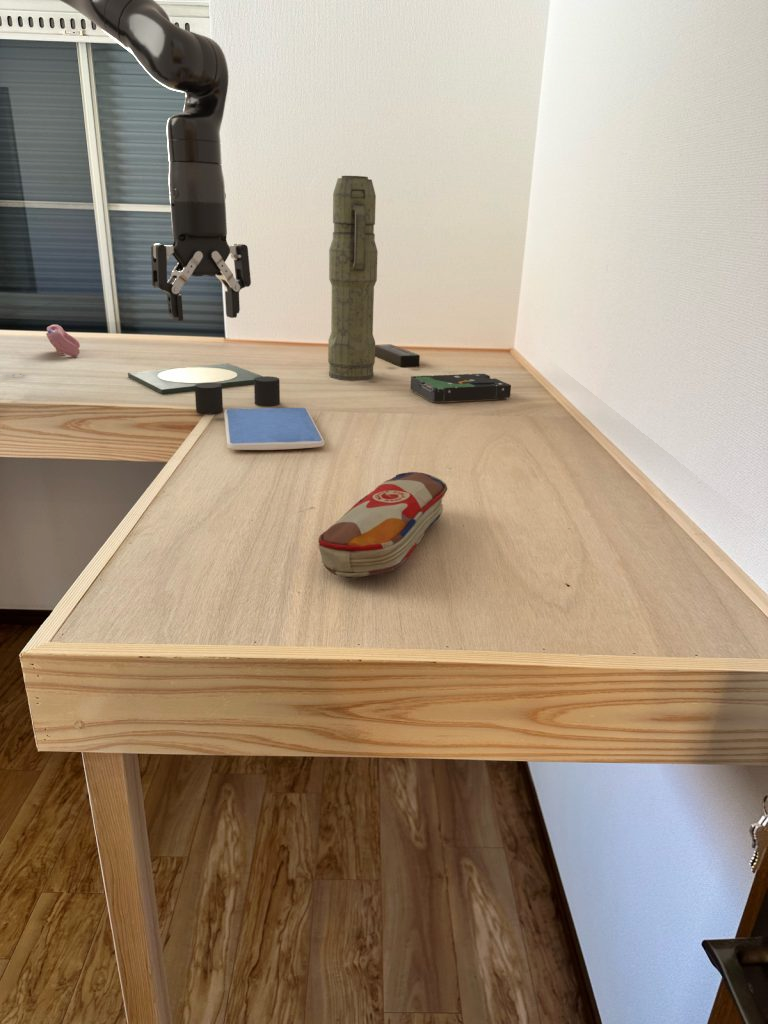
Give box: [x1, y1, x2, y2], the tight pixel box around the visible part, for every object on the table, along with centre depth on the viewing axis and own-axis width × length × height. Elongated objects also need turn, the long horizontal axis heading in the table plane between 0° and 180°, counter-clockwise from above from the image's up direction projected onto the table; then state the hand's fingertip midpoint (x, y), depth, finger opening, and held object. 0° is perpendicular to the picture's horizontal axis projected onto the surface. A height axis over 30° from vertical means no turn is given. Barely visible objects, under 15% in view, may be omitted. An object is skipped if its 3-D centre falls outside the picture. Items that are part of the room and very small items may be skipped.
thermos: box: [327, 175, 379, 381], centre depth 134 cm, size 9×12×35 cm
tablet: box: [223, 407, 326, 451], centre depth 101 cm, size 19×13×1 cm, turn 13°
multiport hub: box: [375, 343, 421, 368], centre depth 157 cm, size 4×14×2 cm, turn 25°
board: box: [127, 363, 263, 395], centre depth 132 cm, size 20×16×1 cm
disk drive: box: [409, 373, 512, 403], centre depth 127 cm, size 10×3×15 cm
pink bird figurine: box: [45, 324, 81, 357], centre depth 151 cm, size 10×5×7 cm, turn 21°
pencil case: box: [318, 471, 448, 580], centre depth 67 cm, size 11×20×5 cm, turn 146°
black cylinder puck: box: [253, 375, 281, 407], centre depth 117 cm, size 4×4×4 cm
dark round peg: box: [194, 382, 224, 415], centre depth 111 cm, size 4×4×4 cm
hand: (205, 318), depth 107 cm, fingers open, 8 cm apart
